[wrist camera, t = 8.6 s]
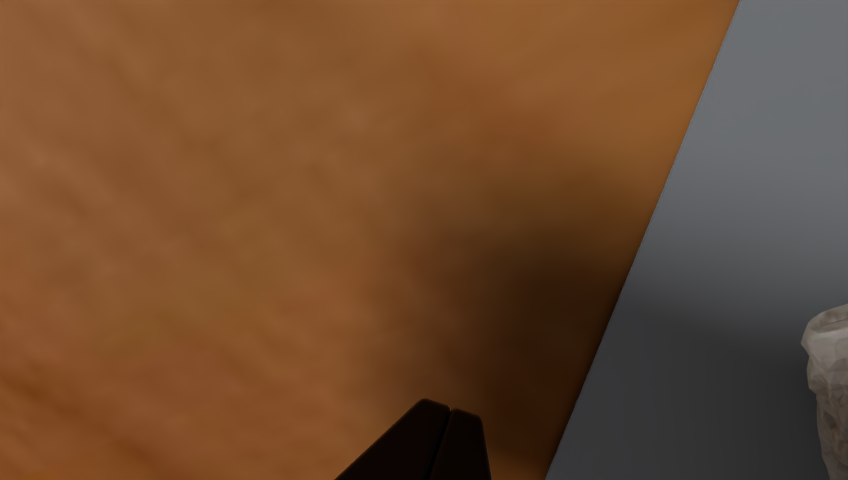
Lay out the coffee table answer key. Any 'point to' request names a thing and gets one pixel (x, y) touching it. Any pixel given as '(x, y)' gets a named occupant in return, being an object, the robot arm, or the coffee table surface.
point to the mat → (731, 271)
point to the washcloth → (830, 385)
